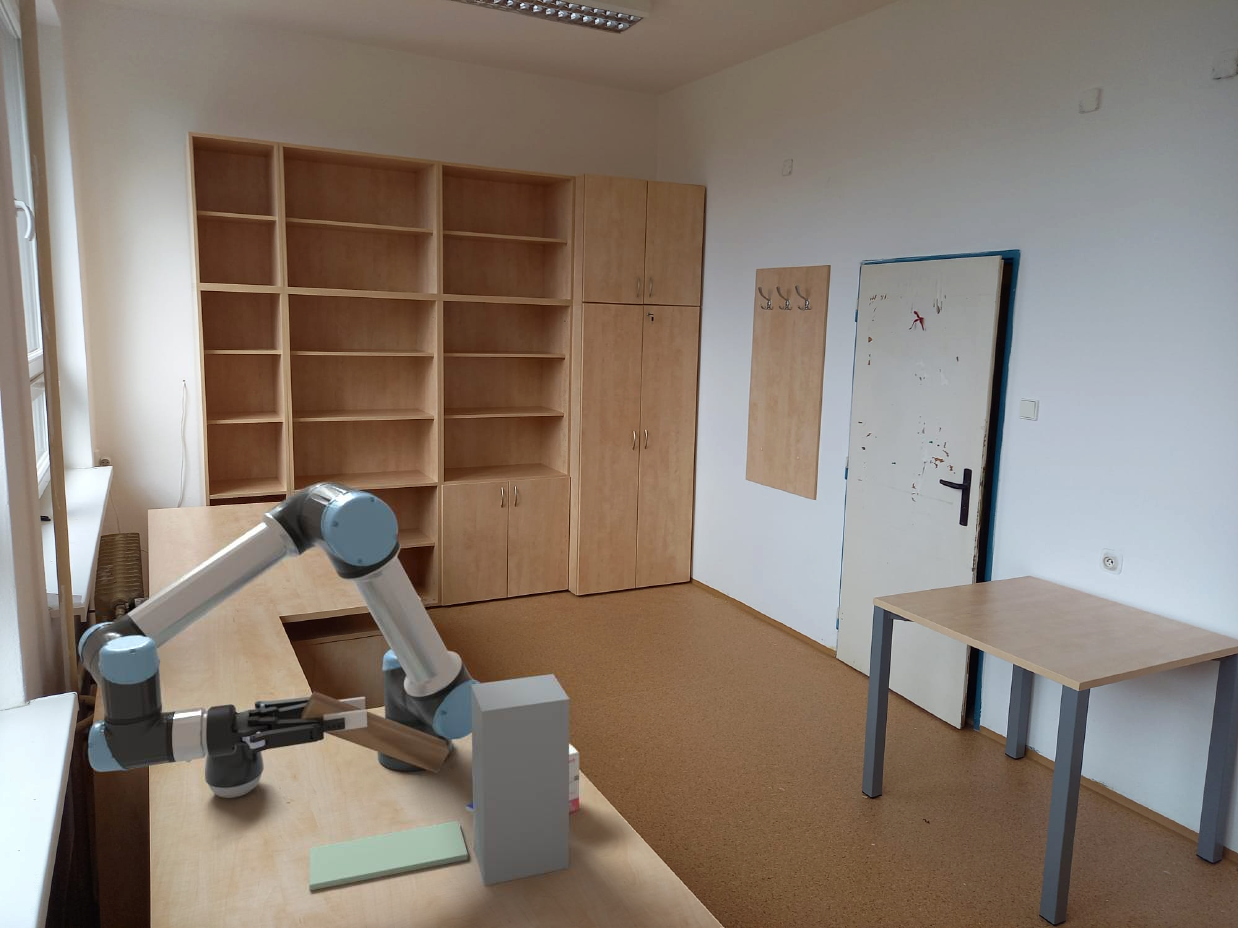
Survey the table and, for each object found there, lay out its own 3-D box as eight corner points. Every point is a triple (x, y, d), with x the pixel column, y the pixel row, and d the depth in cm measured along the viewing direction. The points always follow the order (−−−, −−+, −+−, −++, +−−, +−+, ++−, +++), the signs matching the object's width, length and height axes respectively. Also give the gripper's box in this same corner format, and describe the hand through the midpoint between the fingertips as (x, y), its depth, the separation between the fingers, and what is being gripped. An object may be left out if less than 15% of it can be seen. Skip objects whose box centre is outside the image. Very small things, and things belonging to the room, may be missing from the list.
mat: (310, 852, 144) (309, 847, 144) (458, 825, 152) (458, 820, 152) (309, 890, 135) (309, 884, 135) (467, 859, 143) (467, 853, 143)
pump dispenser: (193, 797, 160) (187, 722, 157) (238, 771, 169) (233, 699, 167) (232, 811, 156) (226, 734, 153) (276, 783, 165) (272, 710, 162)
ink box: (569, 797, 162) (569, 739, 160) (580, 810, 158) (580, 751, 155) (526, 809, 158) (526, 750, 156) (537, 823, 153) (536, 762, 151)
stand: (473, 848, 146) (471, 684, 141) (553, 833, 150) (553, 673, 145) (484, 885, 137) (482, 711, 131) (568, 867, 141) (569, 698, 136)
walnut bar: (301, 712, 137) (313, 690, 137) (434, 761, 146) (445, 740, 146) (301, 723, 133) (313, 701, 133) (437, 773, 142) (448, 751, 142)
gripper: (215, 729, 139) (363, 709, 147) (202, 783, 124) (369, 758, 131) (212, 686, 138) (362, 669, 146) (198, 735, 122) (368, 712, 130)
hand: (365, 711), depth 138 cm, fingers closed on walnut bar, 4 cm apart
